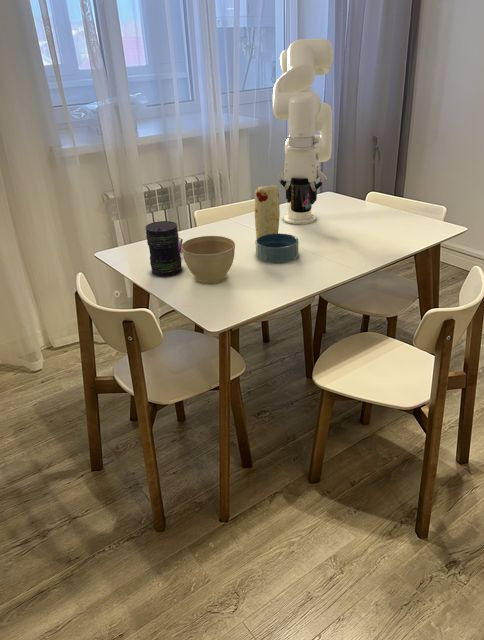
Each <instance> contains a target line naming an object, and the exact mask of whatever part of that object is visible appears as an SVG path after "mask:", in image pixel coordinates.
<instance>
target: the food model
mask: <svg viewBox="0 0 484 640" xmlns="http://www.w3.org/2000/svg"><path fill="white" fill-rule="evenodd" d="M280 204H281V203H280V193H279V187H278V186H277V184H271V185H263V186H261V185H260V186H258V187H256V188H255V190H254V225H255V240H256V239H257V238H258V237H261V236H263V235H267V234H277V233H279V228H280V218H281V217H280V216H281V209H280V206H281V205H280Z"/></svg>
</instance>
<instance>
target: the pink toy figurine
mask: <svg viewBox="0 0 484 640" xmlns="http://www.w3.org/2000/svg"><path fill="white" fill-rule="evenodd" d="M178 239H179V243H178V245H179V253H180V254H181V253H183V251H182V248H181V246H182V244H183V238H182V237H180V236H178Z"/></svg>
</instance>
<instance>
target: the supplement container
mask: <svg viewBox="0 0 484 640" xmlns="http://www.w3.org/2000/svg"><path fill="white" fill-rule="evenodd" d="M311 191H312V188H311V186H310V183H309V182H308V178H291V210H292V211H293V212H297V213H305V212H309V211H310V210H311V209H312V210H313V204H310V197H311Z"/></svg>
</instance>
